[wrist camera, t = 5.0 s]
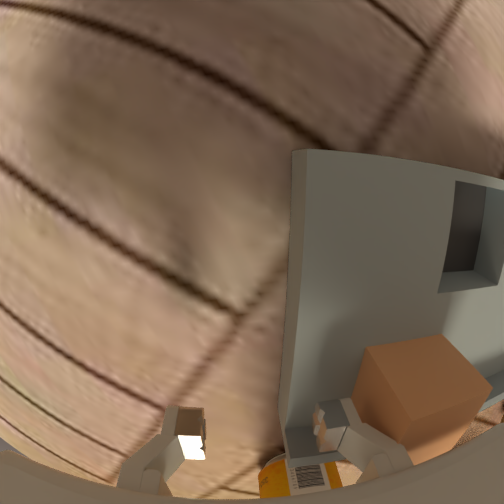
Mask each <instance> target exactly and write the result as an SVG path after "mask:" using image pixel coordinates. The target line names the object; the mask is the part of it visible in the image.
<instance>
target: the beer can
mask: <svg viewBox="0 0 504 504" xmlns="http://www.w3.org/2000/svg"><path fill="white" fill-rule="evenodd" d="M258 480H259V491H260V498H273V497H284V496H293V495H300V494H307V493H314V492H320V491H325V490H330V489H335V488H340V487H343V486H342V482H341V479H340V476H339V473H338V469H337V466H336V463H335V461H333V462H327V463H321V464H315V465H308V466H301V467H292V468H288V464H287V458H286V453H284V454H281V455H278V456H276V457H274V458H272V459H271V460H269V461H268V462H267V463H266V465H265V466H264V468H263V469H262V470H261V471H260V473H259V475H258Z"/></svg>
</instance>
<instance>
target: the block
mask: <svg viewBox="0 0 504 504" xmlns="http://www.w3.org/2000/svg"><path fill="white" fill-rule="evenodd" d="M492 389H493V387H492V386H491V385H490V384H489V383H488V382H487V380H486V379H485V378H484V377H483V376H482V375H481V374H480V373H479V372H478V371H477V370H476V368H475V367H474V366H473V365H472V364H471V363H470V362H469V361H468V360H467V359H466V358H465V357H464V356H463V355H462V354H461V353H460V352H459V351H458V350H457V349H456V348H455V347H454V346H453V345H452V344H451V342H450V341H449V340H448V339H447V338H446V337H445V336H444V335H443V334H438V335H433V336H428V337H423V338H418V339H412V340H407V341H401V342H395V343H388V344H382V345H375V346H368V347H366V348H365V351H364V355H363V359H362V362H361V366H360V369H359V373H358V376H357V380H356V383H355V386H354V389H353V392H352V396H351V400H352V402H353V404H354V406H355V408H356V411H357V413H358V415H359V417H360V419H361V422H362V423H367V424H368V425H370V426H371V427H373V428H375V429H376V430H378V431H380V432H381V433H383V434H385V435H386V436H388V437H390V438H391V439H393V440H395V441H396V442H397V444H402V445H403V446H404V447H405V449H406V451H407V453H408V455H409V457H410V459H411V461H412V463H413V465H417V464H419V463H422V462H424V461H427V460H429V459H432V458H434V457H436V456H439V455H441V454H443V453H445V452H447V451H449V450H451V449H452V448H453V447H454V446H455V444H456V443H457V442H458V440H459V439H460V438H461V436H462V435H463V434H464V432H465V431H466V430H467V428H468V427H469V425H470V424H471V422H472V421H473V419H474V418H475V416H476V415H477V413H478V412H479V410H480V409H481V407H482V406H483V404H484V402H485V401H486V399H487V398H488V396H489V394H490V392H491V391H492Z"/></svg>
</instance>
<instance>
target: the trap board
mask: <svg viewBox="0 0 504 504" xmlns="http://www.w3.org/2000/svg"><path fill="white" fill-rule="evenodd" d="M438 334H443V335H444V336H445V337H446V338H447V339H448V340H449V341H450V342H451V344H452V345H453V346H454V347H455V348H456V349H457V350H458V351H459V352H460V353H461V354H462V355H463V356H464V357H465V358H466V359H467V360H468V361H469V362H470V363H471V364H472V365H473V366H474V367H475V368H476V370H477V371H478V372H479V373H480V374H481V375H482V376H483V377H484V378H485V379H486V380H487V382H488V383H489V384H490V385H491V386H492V387H493V389H492V391H491V392H490V394H489V396H488V398H487V399H486V401H485V402H484V404H483V406H482V407H481V409H480V410H479V412H481V411H483V410H485V409H487V408H488V407H490V406H492V405H494V404H496V403H497V402H499V401H501V400H503V399H504V180H502V179H498V178H494V177H491V176H487V175H483V174H479V173H474V172H470V171H466V170H461V169H457V168H452V167H447V166H442V165H437V164H432V163H426V162H420V161H414V160H408V159H402V158H395V157H388V156H380V155H372V154H364V153H354V152H344V151H333V150H319V149H300V150H293V151H292V178H291V212H290V238H289V259H288V278H287V295H286V311H285V325H284V339H283V352H282V364H281V375H280V386H279V397H278V407H277V408H278V413H279V419H280V425H281V430H282V436H283V441H284V447H285V453H286V458H287V464H288V468H292V467H301V466H308V465H315V464H321V463H327V462H333V461H338V460H343V459H346V458H345V457H344V456H343V455H342V454H341V453H340V452H338V451H337V450H333V451H327V452H319V451H318V448H317V445H316V438H317V436H316V435H315V434H313V430H312V415H313V414H314V413H315V409H314V406H315V403H316V402H322V401H329V400H335V399H343V398H351V396H352V392H353V389H354V386H355V383H356V380H357V376H358V373H359V369H360V366H361V362H362V359H363V355H364V351H365V348H366V347H368V346H375V345H382V344H388V343H395V342H401V341H407V340H412V339H418V338H423V337H428V336H433V335H438ZM479 412H478V413H479Z"/></svg>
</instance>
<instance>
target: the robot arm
mask: <svg viewBox="0 0 504 504" xmlns="http://www.w3.org/2000/svg"><path fill="white" fill-rule="evenodd" d="M314 409H315V413H314V414H313V415H312V430H313V434H315V435H316V436H317V438H316V445H317V448H318V451H319V452H327V451H333V450H337V451H338V452H340V453H341V454H342V455H343V456H344V457H345V458H346V459H348V460H349V461H350V462H351V463H352V464H354V465H355V466H356V467H357V468H358V469H360V470H361V471H362V472H363V473H362V475H361V476H360V478H359V479H358V480H357V482H356V484H353V485H349V486H345V487H340V488H335V489H330V490H325V491H320V492H314V493H307V494H300V495H293V496H284V497H273V498H260V499H197V498H183V497H173V495H172V493H171V492H170V490H169V488H168V486H167V484H166V481H167V480H168V479H169V478H170V477H171V476H172V474H173V473H174V472H175V471H176V470H177V469H178V467H179V466H180V465H181V464H182V463H183V462H184V460H185V459H205V449H206V447H205V440H206V421H205V419H204V408H197V407H182V406H169V405H168V406H167V408H166V411H165V416H164V421H163V426H162V431H161V434H157V435H156V436H155V437H154V438H152V439H151V440H150V441H149V442H148V443H147V444H145V445H144V446H143V447H142V448H141V449H139V450H138V451H137V452H136V453H135V454H133V455H132V456H131V457H130V458H129V459H127V460H126V461H125V462H124V463H122V467H121V470H120V474H119V478H118V482H117V486H116V487H113V486H109V485H105V484H101V483H97V482H93V481H90V480H86V479H83V478H80V477H76V476H73V475H70V474H67V473H64V472H61V471H59V470H56V469H53V468H50V467H48V466H45V465H43V464H40V463H38V462H36V461H33V460H31V459H29V458H26V457H24V456H22V455H20V454H18V453H16V452H13V451H11V450H5V451H1V452H0V504H504V423H499V424H497V425H496V426H494V427H492V428H491V429H489V430H487V431H486V432H484V433H482V434H480V435H479V436H477V437H475V438H473V439H471V440H469V441H468V442H466V443H464V444H462V445H460V446H458V447H456V448H454V449H452V450H449V451H447V452H445V453H443V454H441V455H439V456H436V457H434V458H432V459H429V460H427V461H424V462H422V463H419V464H417V465H413V463H412V461H411V459H410V457H409V455H408V453H407V451H406V449H405V447H404V446H403V445H402V444H397V442H396V441H395V440H393V439H391V438H390V437H388V436H386V435H385V434H383V433H381V432H380V431H378V430H376V429H375V428H373V427H371V426H370V425H368V424H367V423H362V422H361V419H360V417H359V415H358V413H357V411H356V408H355V406H354V404H353V402H352V400H351V398H343V399H335V400H329V401H322V402H316V403H315V406H314Z"/></svg>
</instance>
